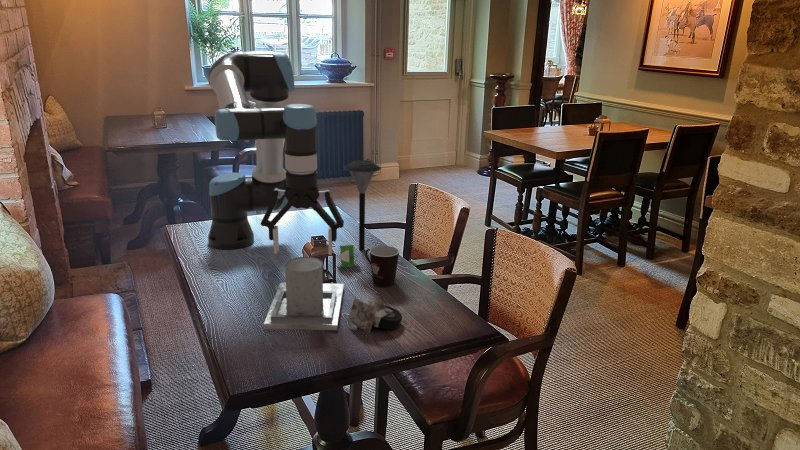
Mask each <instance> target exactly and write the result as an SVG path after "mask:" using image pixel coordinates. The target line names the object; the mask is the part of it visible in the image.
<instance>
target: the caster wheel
mask: <svg viewBox="0 0 800 450" xmlns="http://www.w3.org/2000/svg"><path fill="white" fill-rule="evenodd" d="M402 320H403V315H402V313H401V312H400V311H399V310H398V309H396V308H394V307H392V306H390V305H386V304H384V302H382V301H381V300H380V299H378V298H375V297H373V298H372V297H371V298H370V297H369V298H366V299H363V300H362V301H361V300H360V299H358V298H356V297H354V299H353V303H352V306H351V309H350V313H349V316H348V319H347V321H348V323H350V324H352V325H354V326H355V327H357V328H359V329H361V330H362V331H364V332H366V333H369V334H370V333H371V330H372V328H373V327H374V328H375V327H376V328H377V329H378V328H380V329H381V328H382V329H385V330H396V329H398V328H399V327H400V325H401V322H402Z"/></svg>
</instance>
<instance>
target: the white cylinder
mask: <svg viewBox="0 0 800 450" xmlns="http://www.w3.org/2000/svg"><path fill="white" fill-rule="evenodd" d="M323 265H324V263H323V260H321V259H320V258H317V257H314V256H299V257H298V256H297V257H294V258H293V257H292V258H291V259H288V260H287V261H285V263H284V272H285V273H284V274H285V283H286V301H287V307H286V309H287V311H288V312H289V313H291V314H293V315H314V314H317V313H319V312H320V311H322V309H323V306H324V305H323V282H324V280H323V279H324V278H323V277H324V274H323V273H324V269H323Z"/></svg>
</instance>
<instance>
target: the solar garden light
mask: <svg viewBox="0 0 800 450" xmlns="http://www.w3.org/2000/svg"><path fill="white" fill-rule="evenodd" d="M343 169H344V170H345V171H348V172H349V173H350V176H351V178H352V180H353V182H354V184H355V186H356V189H357V191H358V192H359V193H358V194H359V195H358V196H359V197H358V198H359V207H358V211H359V215H358V220H359V221H358V231H359V232H358V250H359V251H365V247H366V245H365V244H366V243H365V241H366V240H365V238H366V237H365V235H366V233H365V232H366V231H365V229H366V228H365V227H366V219H365V218H366V191H367V189H368V187H369V185H370V183H371V181H372V179H373V177H374V174H375V172H378V171H380V170H381V169H382V167H381V166H379V165H378V164H376V163H374V162H372V161H370V160H353V161H352V162H350V163H348V164H347V165H344V166H343Z"/></svg>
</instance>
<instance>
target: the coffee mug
mask: <svg viewBox="0 0 800 450" xmlns="http://www.w3.org/2000/svg"><path fill="white" fill-rule="evenodd" d="M368 253H369V254H368ZM364 255H365V258H366V260H367V262H368V264H370V267H371V268H370V269H371V276H372V284H373V285H374V286H376V287H379V288H388V287H392V286H394V285H395V282H396V276H397V274H396V273H397V269H398V262H399V255H400V249H399V248H397V247H395V246H390V245H376V246H373V247H371V248H367V249H366V250H365V253H364ZM368 255H369V256H368ZM369 257H370V258H369Z"/></svg>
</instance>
